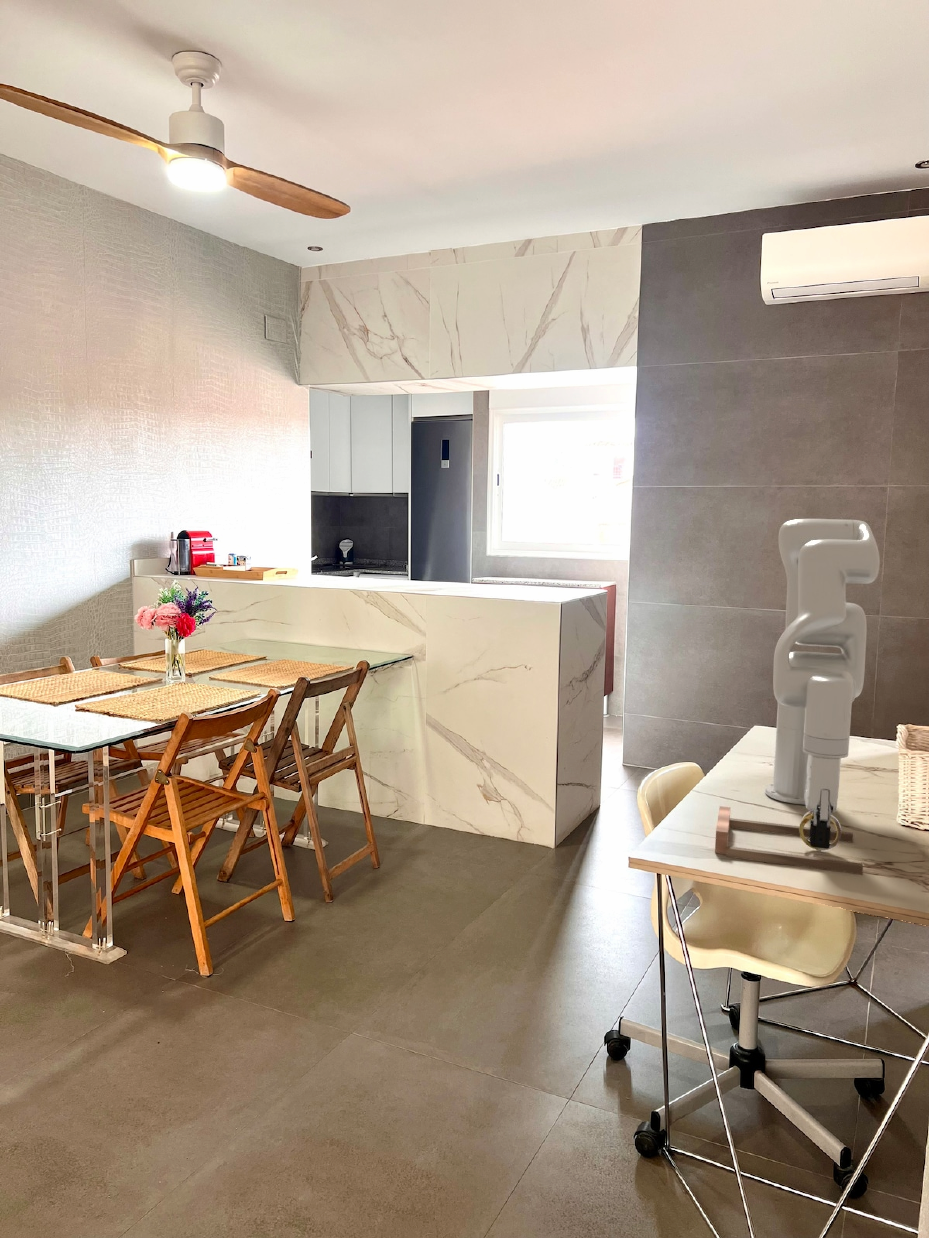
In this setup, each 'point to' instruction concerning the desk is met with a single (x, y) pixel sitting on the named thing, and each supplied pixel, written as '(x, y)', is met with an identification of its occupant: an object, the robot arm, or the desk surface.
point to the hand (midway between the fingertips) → (819, 844)
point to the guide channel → (781, 858)
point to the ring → (809, 816)
